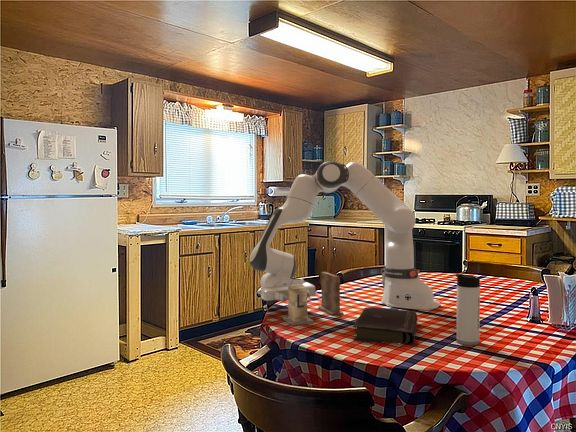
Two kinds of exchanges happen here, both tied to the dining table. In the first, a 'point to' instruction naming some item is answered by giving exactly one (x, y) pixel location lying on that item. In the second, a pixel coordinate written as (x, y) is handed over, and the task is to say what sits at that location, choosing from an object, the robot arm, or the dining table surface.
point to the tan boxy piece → (297, 303)
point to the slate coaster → (297, 321)
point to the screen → (330, 294)
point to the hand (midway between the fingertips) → (296, 296)
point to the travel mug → (468, 310)
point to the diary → (385, 325)
